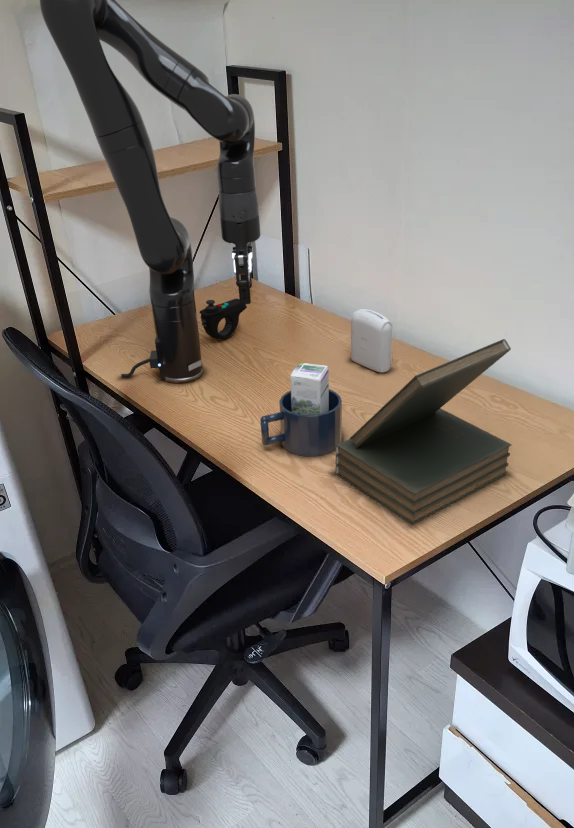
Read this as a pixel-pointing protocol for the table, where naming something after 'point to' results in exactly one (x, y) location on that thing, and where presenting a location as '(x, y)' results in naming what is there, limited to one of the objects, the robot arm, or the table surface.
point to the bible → (425, 444)
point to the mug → (306, 428)
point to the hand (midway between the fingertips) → (246, 295)
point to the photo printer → (371, 340)
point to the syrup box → (310, 389)
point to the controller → (217, 313)
